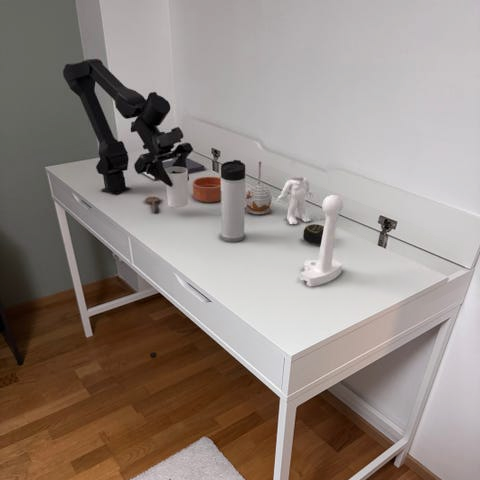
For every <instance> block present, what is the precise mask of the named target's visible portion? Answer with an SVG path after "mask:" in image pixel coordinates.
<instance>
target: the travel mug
mask: <svg viewBox="0 0 480 480" xmlns="http://www.w3.org/2000/svg"><path fill="white" fill-rule="evenodd" d="M220 178H221V200H220V237H221V239H222V240H223V241H225V242H229V243H237V242H240V241H243V240H244V238H245V216H246V215H245V214H246V213H245V212H246V209H245V207H246V204H245V203H246V201H245V197H246V164H245V163H243V162H242V161H241V160H239V159H233V160H230V161H226V162H224V163H222V164H221V165H220Z"/></svg>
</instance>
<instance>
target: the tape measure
mask: <svg viewBox="0 0 480 480" xmlns="http://www.w3.org/2000/svg"><path fill="white" fill-rule="evenodd" d="M323 231H324V225H322V224H316V223H311V224H307V225H306V226H305V227H304V228H303V233H302V236H303V240H304V241H305V242H307V243H309V244H312V245H313V244H314V245H320V246H321V242H322V236H323Z"/></svg>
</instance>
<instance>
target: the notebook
mask: <svg viewBox="0 0 480 480" xmlns="http://www.w3.org/2000/svg"><path fill="white" fill-rule="evenodd" d="M162 162H163V168H164V169H166V168H169V167H173V164H174V161H173V159H170V160H165V161H162ZM186 167H187V170H188V174H191V173H195V172H197V173H198V172H200V171H205V165H204V164H201V163H200V162H198V161H195V160H193V159H191V158H188V157H187V158H186ZM147 170H148V169H147ZM147 170H146V172H147ZM146 172H144V173H141V174H143V175H144V176H146V177H148V178H149V179H151V180H153V181H158V180H159V179H157V178H156V177H154V176H152V175H150V174H146ZM159 181H160V180H159Z"/></svg>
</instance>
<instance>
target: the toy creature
mask: <svg viewBox="0 0 480 480" xmlns="http://www.w3.org/2000/svg"><path fill="white" fill-rule="evenodd" d="M310 188H311V186H310V182H309V180H308V178H307V177H302V176H301V177H293V178H289V179H288V180H286V181H285V184H284V185H283V188H282V190H281V192H280V194H279V195H278V197H277V199H276V202H277V203H279V202H280V200H282V199H283V198H284V197H286V196H287V195H288V197H287V198H288V207H287V213H286V214H287V215H286V220H287V221H288V224H289V225H297V224H298V223H299V222H298V221H297V219H299V220H301V221H303V222H304V223H309V222H312V219H311V218H309V217H308V215H306V206H307V203H306V196H307V197H314V195H313V193H314V192H313V191H311V190H310ZM288 193H289V194H288ZM296 211H297V214H296ZM295 215H296V217H297V219H296V218H295Z"/></svg>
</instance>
